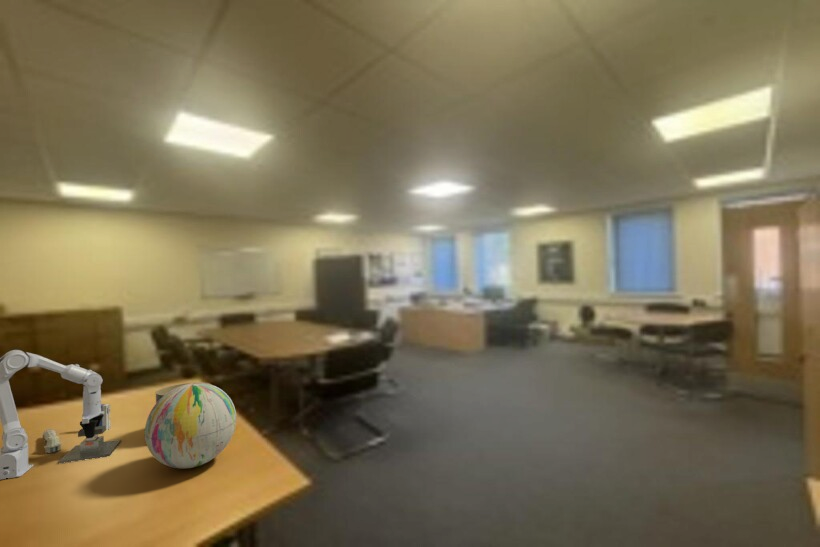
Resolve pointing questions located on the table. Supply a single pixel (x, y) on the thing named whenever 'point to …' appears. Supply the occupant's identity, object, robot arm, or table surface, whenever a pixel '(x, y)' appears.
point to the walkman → (105, 416)
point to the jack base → (91, 450)
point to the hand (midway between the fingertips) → (91, 435)
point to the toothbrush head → (51, 441)
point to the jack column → (97, 431)
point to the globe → (190, 425)
